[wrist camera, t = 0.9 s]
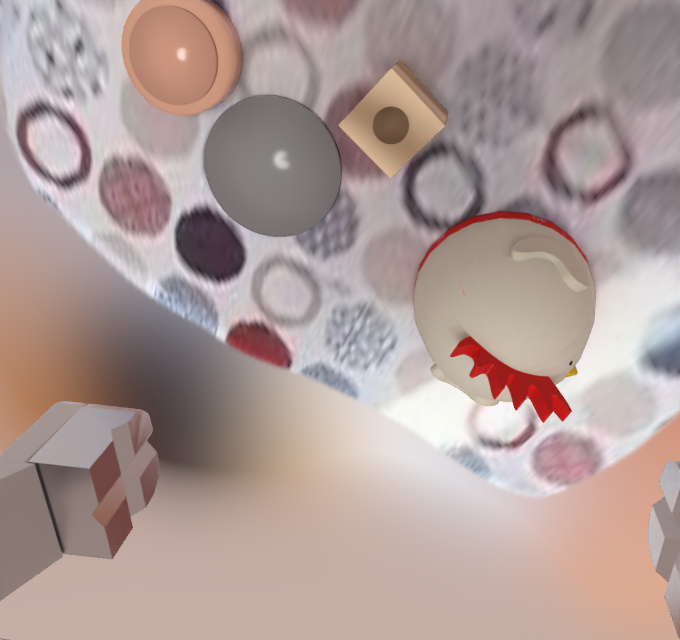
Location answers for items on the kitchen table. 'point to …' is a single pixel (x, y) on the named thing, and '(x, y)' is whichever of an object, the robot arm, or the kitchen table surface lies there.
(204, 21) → the ramekin
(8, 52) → the kitchen table surface
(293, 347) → the kitchen table surface
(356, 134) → the oak block
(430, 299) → the kitchen timer
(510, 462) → the kitchen table surface
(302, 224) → the coaster
